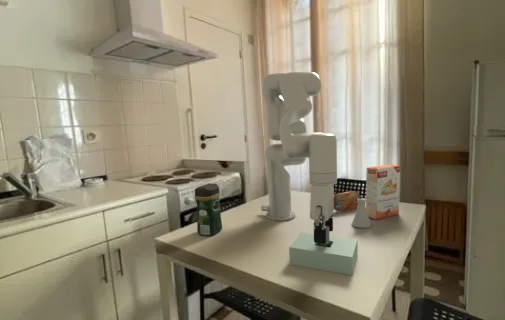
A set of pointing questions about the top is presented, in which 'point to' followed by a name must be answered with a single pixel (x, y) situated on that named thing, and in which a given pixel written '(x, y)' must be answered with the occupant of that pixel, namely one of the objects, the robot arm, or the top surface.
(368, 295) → the top surface
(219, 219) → the coffee jar
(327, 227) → the peg
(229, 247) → the top surface
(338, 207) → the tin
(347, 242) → the green block with hole
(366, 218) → the flask
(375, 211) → the cracker box
